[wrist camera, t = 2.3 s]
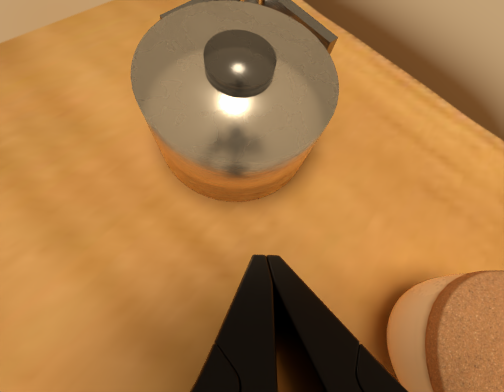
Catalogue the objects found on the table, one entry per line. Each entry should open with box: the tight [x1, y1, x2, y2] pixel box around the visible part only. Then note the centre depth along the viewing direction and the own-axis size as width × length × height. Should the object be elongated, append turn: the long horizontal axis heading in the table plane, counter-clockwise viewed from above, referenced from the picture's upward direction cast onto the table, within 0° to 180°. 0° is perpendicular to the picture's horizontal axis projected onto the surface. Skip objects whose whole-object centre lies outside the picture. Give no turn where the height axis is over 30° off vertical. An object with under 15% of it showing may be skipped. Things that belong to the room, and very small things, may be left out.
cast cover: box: [131, 0, 339, 202], centre depth 21 cm, size 15×15×9 cm
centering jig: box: [160, 0, 338, 55], centre depth 26 cm, size 12×17×7 cm
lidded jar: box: [387, 271, 504, 392], centre depth 16 cm, size 11×11×9 cm
